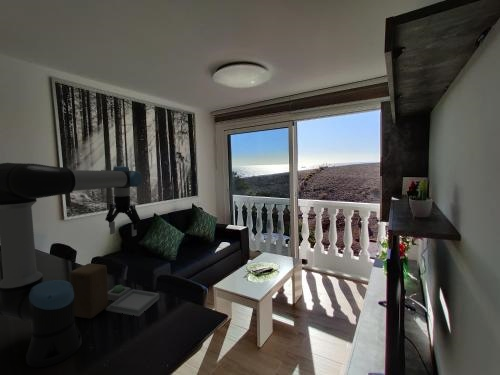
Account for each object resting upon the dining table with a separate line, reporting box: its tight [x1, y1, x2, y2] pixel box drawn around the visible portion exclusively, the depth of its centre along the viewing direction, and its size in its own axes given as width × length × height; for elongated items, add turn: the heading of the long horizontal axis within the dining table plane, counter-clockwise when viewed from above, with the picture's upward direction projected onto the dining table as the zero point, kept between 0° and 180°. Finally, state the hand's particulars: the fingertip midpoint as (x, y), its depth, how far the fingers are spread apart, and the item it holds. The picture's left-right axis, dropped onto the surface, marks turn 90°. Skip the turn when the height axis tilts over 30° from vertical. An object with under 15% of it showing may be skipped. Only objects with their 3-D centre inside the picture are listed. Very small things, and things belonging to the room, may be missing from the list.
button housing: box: [108, 286, 132, 302], centre depth 123 cm, size 8×8×3 cm
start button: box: [112, 284, 124, 294], centre depth 123 cm, size 4×4×3 cm
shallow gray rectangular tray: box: [105, 288, 160, 317], centre depth 116 cm, size 15×17×3 cm
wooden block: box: [69, 263, 109, 320], centre depth 109 cm, size 10×10×20 cm
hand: (123, 234), depth 135 cm, fingers open, 13 cm apart
